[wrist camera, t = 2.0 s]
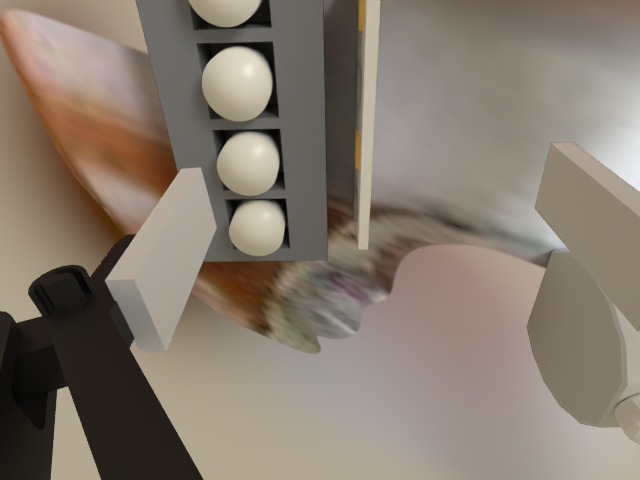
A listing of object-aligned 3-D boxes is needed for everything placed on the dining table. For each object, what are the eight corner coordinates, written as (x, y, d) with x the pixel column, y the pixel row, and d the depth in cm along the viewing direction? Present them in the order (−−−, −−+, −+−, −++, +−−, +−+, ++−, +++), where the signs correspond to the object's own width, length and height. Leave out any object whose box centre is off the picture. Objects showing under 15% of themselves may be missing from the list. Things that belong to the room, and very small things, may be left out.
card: (356, -42, 28) (363, -41, 23) (371, -42, 28) (382, -42, 23) (351, 207, 40) (355, 249, 34) (362, 207, 40) (367, 249, 34)
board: (141, -89, 27) (111, -97, 23) (321, -96, 27) (320, -104, 23) (211, 234, 42) (199, 261, 38) (327, 233, 42) (327, 260, 38)
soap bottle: (565, 338, 50) (681, 524, 34) (521, 339, 50) (615, 524, 34) (611, 228, 41) (802, 410, 24) (557, 230, 41) (710, 412, 25)
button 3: (220, 126, 32) (211, 141, 30) (278, 125, 32) (274, 139, 30) (229, 179, 35) (222, 196, 33) (283, 178, 35) (279, 195, 32)
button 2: (206, 44, 29) (195, 52, 26) (271, 42, 29) (266, 50, 26) (217, 109, 32) (208, 122, 29) (277, 108, 31) (272, 120, 29)
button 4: (232, 193, 36) (225, 211, 33) (284, 193, 36) (281, 210, 33) (239, 237, 38) (233, 256, 36) (288, 236, 38) (285, 255, 36)
